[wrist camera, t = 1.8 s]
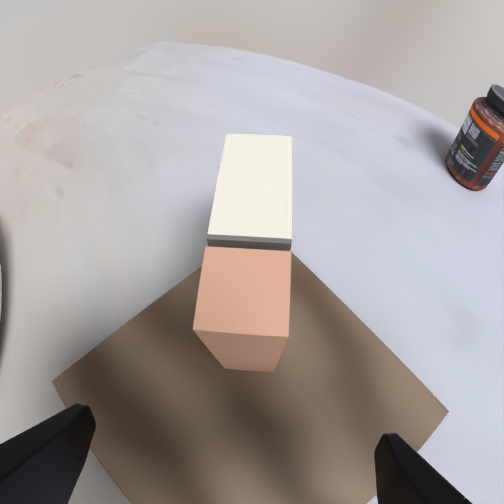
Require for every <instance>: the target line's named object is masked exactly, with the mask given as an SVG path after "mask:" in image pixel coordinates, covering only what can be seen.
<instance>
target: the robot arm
mask: <svg viewBox="0 0 504 504" xmlns="http://www.w3.org/2000/svg"><path fill="white" fill-rule="evenodd" d="M95 429H96V421H95V419H94V416H93V413H92V411H91V408H90V407H89V406H88V405H86V404H83V403H75V404H73V405H72V406H70V407H68V408H66V409H65V410H63V411H61V412H59V413H57V414H56V415H54V416H52V417H50V418H48V419H47V420H45V421H43V422H41V423H39V424H37V425H36V426H34V427H32V428H30V429H28V430H26V431H24V432H23V433H21V434H19V435H17V436H15V437H13V438H11V439H9V440H7V441H5V442H4V443H2V444H0V504H68V501H69V499H70V497H71V494H72V492H73V489H74V487H75V485H76V482H77V480H78V478H79V475H80V473H81V471H82V469H83V466H84V464H85V461H86V458H87V454H88V451H89V448H90V445H91V441H92V438H93V435H94V432H95ZM374 460H375V473H376V489H377V498H378V504H472V503H471V502H470V501H469V500H468V499H467V498H465V497H464V496H463V495H462V494H461V493H460V492H459V491H458V490H457V489H456V488H455V487H453V486H452V485H451V484H450V483H449V482H448V481H447V480H446V479H445V478H444V477H443V476H442V475H441V474H439V473H438V472H437V471H436V470H435V469H434V468H433V467H432V466H431V465H430V464H429V463H428V462H427V461H426V460H425V459H424V458H422V457H421V456H420V455H419V454H418V453H417V452H416V451H415V450H414V449H413V448H412V447H411V446H410V445H409V444H408V443H407V442H406V441H405V440H404V439H403V438H402V437H400V436H399V435H398V434H397V433H395V432H392V433H385V434H383V435H382V436H381V438H380V440H379V442H378V444H377V446H376V448H375V452H374Z"/></svg>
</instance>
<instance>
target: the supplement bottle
mask: <svg viewBox="0 0 504 504" xmlns="http://www.w3.org/2000/svg"><path fill="white" fill-rule="evenodd" d="M503 162H504V88H503V87H501V86H498V85H492V86H491V87H490V90H489V92H488V94H487V97H480V98H477V99H476V100H475V101H474V102H473V104H472V106H471V109H470V111H469V113H468V115H467V117H466V119H465V121H464V123H463V125H462V127H461V129H460V131H459V133H458V135H457V137H456V139H455V141H454V143H453V144H452V146H451V148H450V150H449V152H448V154H447V157H446V163H447V166H448V168H449V170H450V172H451V174H452V175H453V176H454V177H455V178H456V179H457V180H458V181H459V182H460V183H461V184H463V185H464V186H466V187H468V188H470V189H473V190H482V189H484V188H486V187H487V185H488V184H489V183H490V181H491V180H492V179H493V177H494V176H495V174H496V173H497V171H498V170H499V168H500V167H501V165H502V164H503Z"/></svg>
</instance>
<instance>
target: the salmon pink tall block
mask: <svg viewBox="0 0 504 504" xmlns="http://www.w3.org/2000/svg"><path fill="white" fill-rule="evenodd" d="M290 285H291V251H277V250H260V249H243V248H226V247H208V246H205V252H204V258H203V264H202V270H201V277H200V283H199V289H198V296H197V303H196V310H195V317H194V324H193V330H194V332H195V333H196V334H197V336H198V337H199V338H200V339H201V341H202V342H203V343H204V344H205V346H206V347H207V348H208V349H209V350H210V352H211V353H212V354H213V355H214V357H215V358H216V359H217V360H218V361H219V363H220V364H221V365H222V366H223V367H224V368H225V369H233V370H244V371H258V372H274V370H275V368H276V366H277V363H278V361H279V358H280V356H281V354H282V351H283V349H284V347H285V344H286V342H287V339H288V337H289V313H290Z"/></svg>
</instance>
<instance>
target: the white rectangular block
mask: <svg viewBox="0 0 504 504" xmlns="http://www.w3.org/2000/svg"><path fill="white" fill-rule="evenodd" d="M207 242H208V245H209V247H226V248H243V249H260V250H277V251H290V249H291V243H292V136H277V135H255V134H227V135H226V140H225V145H224V149H223V154H222V159H221V164H220V169H219V174H218V180H217V185H216V190H215V195H214V201H213V206H212V212H211V217H210V223H209V228H208V234H207Z"/></svg>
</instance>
